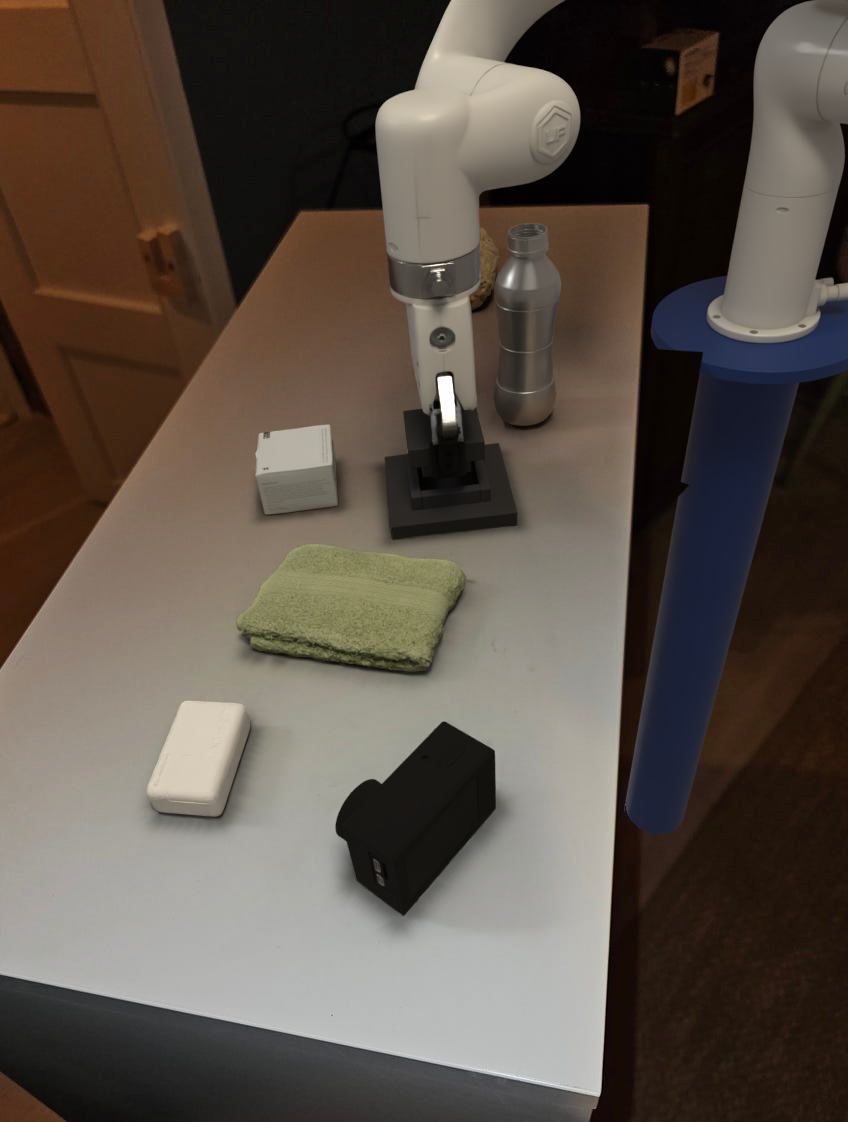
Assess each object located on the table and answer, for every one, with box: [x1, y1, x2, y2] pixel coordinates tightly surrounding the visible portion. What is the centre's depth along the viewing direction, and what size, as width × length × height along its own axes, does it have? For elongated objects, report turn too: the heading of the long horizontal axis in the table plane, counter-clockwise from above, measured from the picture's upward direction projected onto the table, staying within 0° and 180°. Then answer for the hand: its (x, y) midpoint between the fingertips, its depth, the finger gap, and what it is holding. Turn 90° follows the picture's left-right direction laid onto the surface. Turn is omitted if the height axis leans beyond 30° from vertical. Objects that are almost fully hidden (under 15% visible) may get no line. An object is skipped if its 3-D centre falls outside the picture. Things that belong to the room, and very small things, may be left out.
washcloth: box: [235, 543, 467, 673], centre depth 75 cm, size 13×18×3 cm
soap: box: [146, 700, 252, 817], centre depth 65 cm, size 9×6×3 cm, turn 171°
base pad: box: [384, 442, 518, 540], centre depth 86 cm, size 12×12×3 cm
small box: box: [254, 423, 339, 515], centre depth 89 cm, size 8×8×5 cm
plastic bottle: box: [492, 222, 563, 427], centre depth 88 cm, size 6×7×20 cm
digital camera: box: [335, 720, 497, 917], centre depth 57 cm, size 10×5×7 cm, turn 139°
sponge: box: [469, 226, 501, 312], centre depth 118 cm, size 13×8×20 cm
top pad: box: [402, 405, 486, 477], centre depth 82 cm, size 7×7×4 cm
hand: (444, 451), depth 83 cm, fingers closed on top pad, 7 cm apart
